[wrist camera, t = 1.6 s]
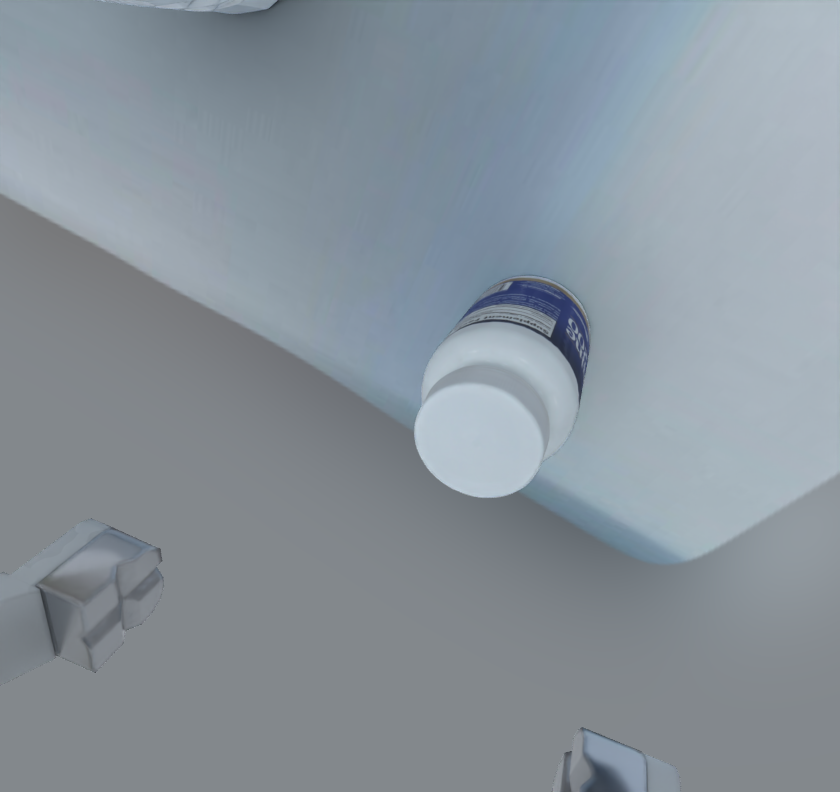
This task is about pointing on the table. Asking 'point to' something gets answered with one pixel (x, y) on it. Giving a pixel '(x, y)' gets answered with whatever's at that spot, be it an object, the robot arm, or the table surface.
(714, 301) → the table surface
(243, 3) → the white cup
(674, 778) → the robot arm
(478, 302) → the pill bottle
